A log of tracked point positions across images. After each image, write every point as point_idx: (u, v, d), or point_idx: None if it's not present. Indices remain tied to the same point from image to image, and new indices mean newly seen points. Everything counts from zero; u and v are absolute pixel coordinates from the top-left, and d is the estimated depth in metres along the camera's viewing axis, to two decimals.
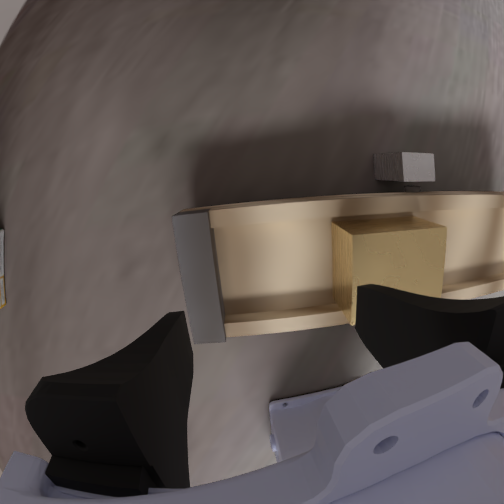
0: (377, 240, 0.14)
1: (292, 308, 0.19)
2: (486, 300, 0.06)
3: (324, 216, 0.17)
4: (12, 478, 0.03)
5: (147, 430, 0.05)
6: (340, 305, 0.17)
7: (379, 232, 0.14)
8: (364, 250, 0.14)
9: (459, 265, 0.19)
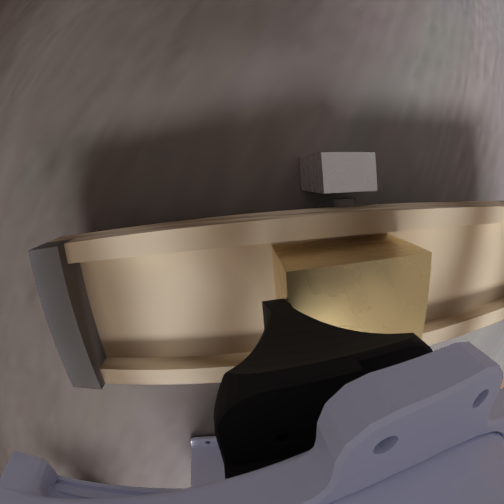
0: (325, 277, 0.10)
1: (177, 356, 0.15)
2: (371, 336, 0.06)
3: (194, 248, 0.13)
4: (12, 478, 0.03)
5: None
6: None
7: (328, 265, 0.10)
8: (305, 292, 0.10)
9: None
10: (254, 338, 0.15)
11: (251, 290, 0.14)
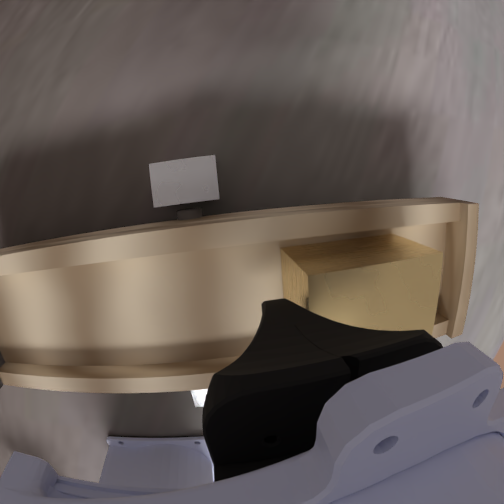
0: (346, 280, 0.10)
1: (52, 365, 0.14)
2: (382, 334, 0.06)
3: (35, 269, 0.11)
4: (13, 478, 0.03)
5: None
6: None
7: (349, 268, 0.10)
8: (326, 295, 0.10)
9: None
10: (108, 353, 0.14)
11: (95, 307, 0.13)
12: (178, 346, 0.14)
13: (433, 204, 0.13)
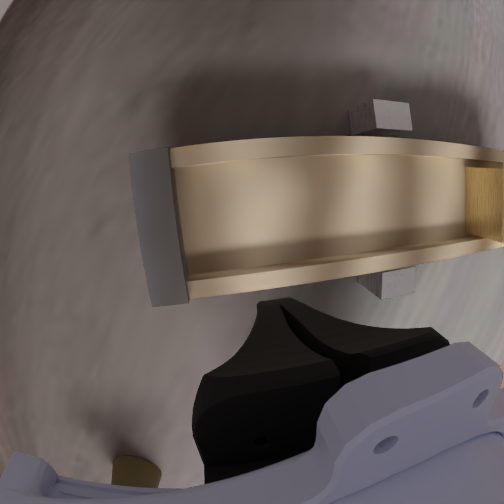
0: None
1: (265, 264, 0.17)
2: (390, 331, 0.06)
3: (297, 153, 0.15)
4: (12, 478, 0.03)
5: None
6: (481, 233, 0.17)
7: None
8: None
9: (445, 220, 0.18)
10: (332, 243, 0.18)
11: (331, 198, 0.17)
12: (388, 233, 0.18)
13: None
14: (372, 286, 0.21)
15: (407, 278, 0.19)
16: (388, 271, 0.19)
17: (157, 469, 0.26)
